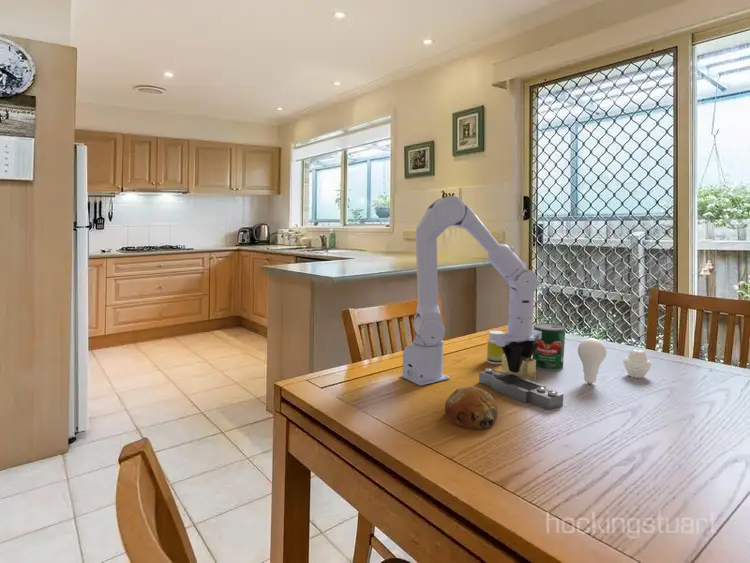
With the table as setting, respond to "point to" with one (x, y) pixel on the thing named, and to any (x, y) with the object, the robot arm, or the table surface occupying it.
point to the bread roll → (471, 408)
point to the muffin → (637, 364)
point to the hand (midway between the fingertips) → (518, 370)
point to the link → (521, 367)
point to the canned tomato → (550, 347)
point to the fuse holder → (521, 389)
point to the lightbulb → (591, 357)
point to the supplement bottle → (494, 348)
